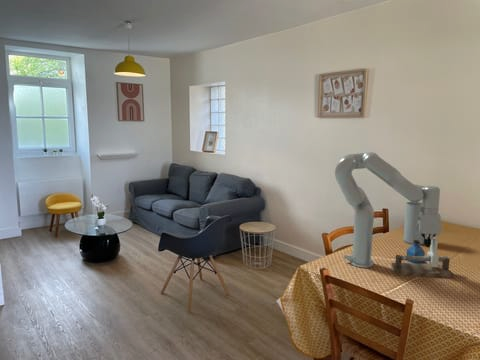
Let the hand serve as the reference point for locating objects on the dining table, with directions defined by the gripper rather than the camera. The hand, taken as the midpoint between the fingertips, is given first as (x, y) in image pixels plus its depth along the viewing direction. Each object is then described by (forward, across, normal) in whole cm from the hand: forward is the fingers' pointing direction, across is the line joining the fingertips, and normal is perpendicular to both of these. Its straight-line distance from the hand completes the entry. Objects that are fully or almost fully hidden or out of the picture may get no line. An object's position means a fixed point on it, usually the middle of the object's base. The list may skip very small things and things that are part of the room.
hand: (427, 246), depth 180 cm
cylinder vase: (+14, +12, +49) cm, 52 cm away
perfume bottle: (+14, 0, +14) cm, 20 cm away
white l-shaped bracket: (+10, +3, 0) cm, 10 cm away
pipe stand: (+14, -2, 0) cm, 14 cm away
